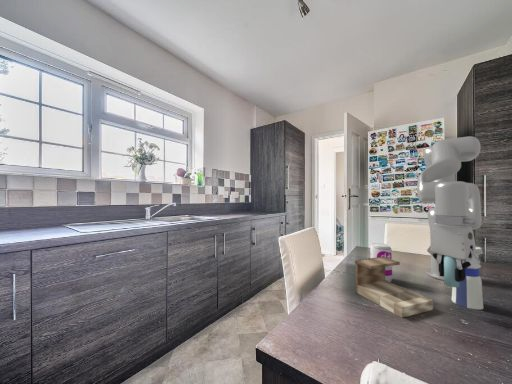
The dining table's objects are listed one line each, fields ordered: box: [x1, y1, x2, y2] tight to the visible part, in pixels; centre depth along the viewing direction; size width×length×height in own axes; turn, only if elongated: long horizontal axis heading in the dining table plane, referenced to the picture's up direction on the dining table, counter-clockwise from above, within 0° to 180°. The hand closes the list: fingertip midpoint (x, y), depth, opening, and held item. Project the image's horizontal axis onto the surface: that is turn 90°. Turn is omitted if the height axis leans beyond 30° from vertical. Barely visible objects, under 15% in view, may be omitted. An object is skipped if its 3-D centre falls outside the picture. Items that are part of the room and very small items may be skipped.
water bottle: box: [451, 246, 484, 310], centre depth 72 cm, size 8×8×25 cm
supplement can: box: [369, 242, 393, 283], centre depth 93 cm, size 8×8×15 cm
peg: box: [443, 256, 459, 288], centre depth 68 cm, size 4×4×10 cm
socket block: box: [354, 257, 434, 319], centre depth 75 cm, size 14×18×12 cm
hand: (451, 277), depth 68 cm, fingers closed on peg, 3 cm apart
